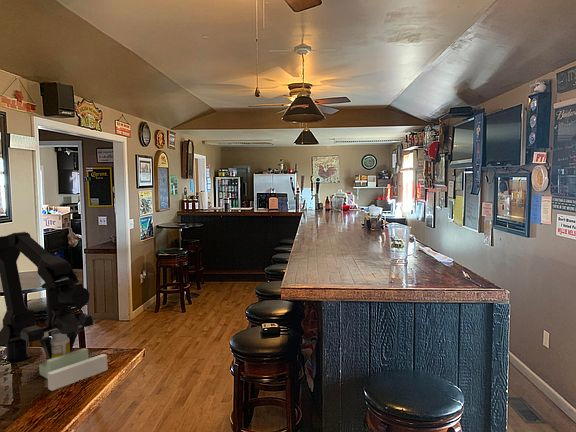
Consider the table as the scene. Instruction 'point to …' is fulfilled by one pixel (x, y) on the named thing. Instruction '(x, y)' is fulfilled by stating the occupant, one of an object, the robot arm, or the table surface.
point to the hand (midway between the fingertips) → (60, 354)
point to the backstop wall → (77, 372)
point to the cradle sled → (63, 361)
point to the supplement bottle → (59, 344)
